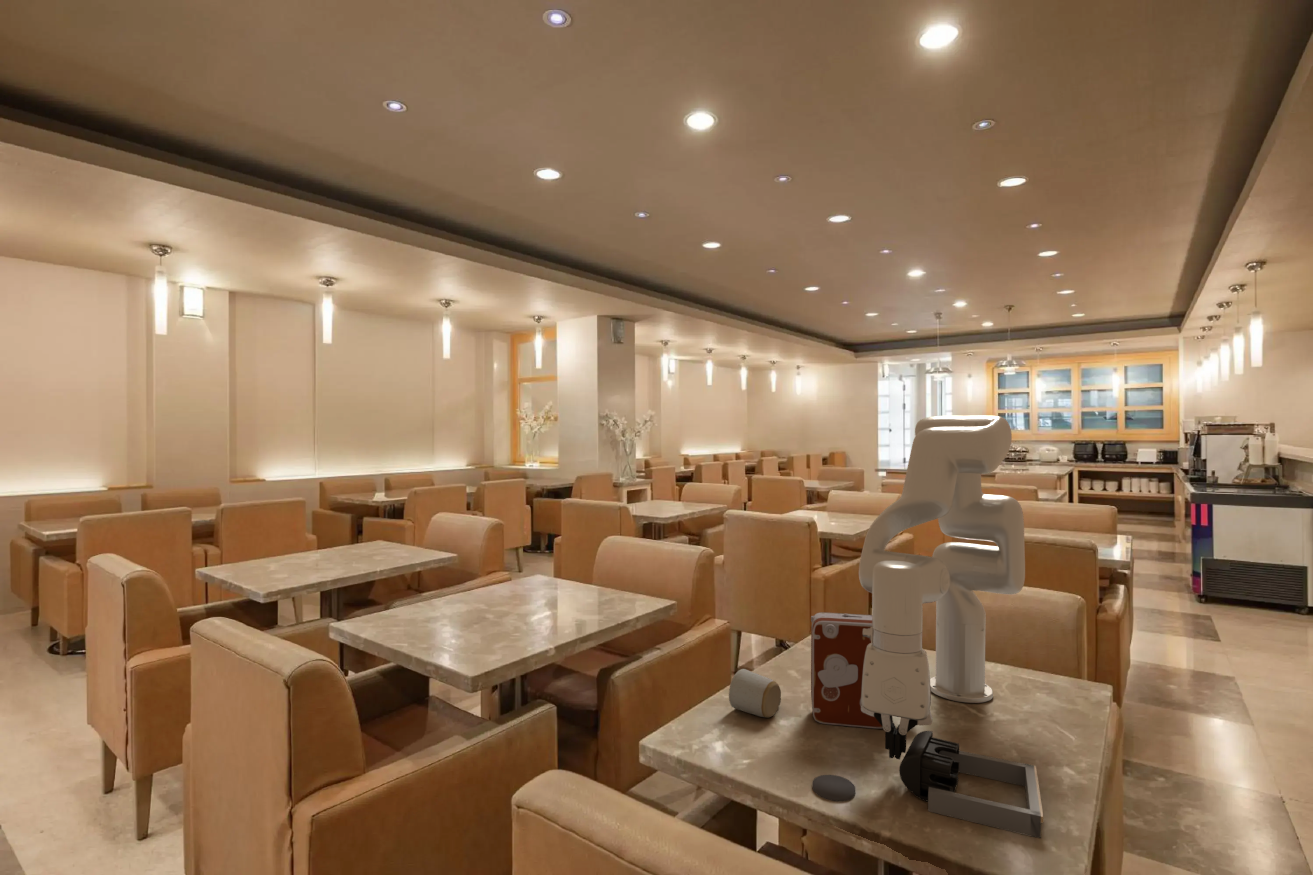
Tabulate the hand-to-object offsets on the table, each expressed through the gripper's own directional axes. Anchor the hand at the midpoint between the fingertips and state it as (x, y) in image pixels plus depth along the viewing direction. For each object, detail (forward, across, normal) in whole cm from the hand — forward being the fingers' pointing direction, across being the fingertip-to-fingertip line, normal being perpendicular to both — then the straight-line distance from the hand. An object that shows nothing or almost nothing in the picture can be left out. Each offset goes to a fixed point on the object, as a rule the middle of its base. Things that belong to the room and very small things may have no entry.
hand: (895, 754), depth 106 cm
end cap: (+4, +5, 0) cm, 6 cm away
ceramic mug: (+4, -28, +15) cm, 32 cm away
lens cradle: (+4, +12, 0) cm, 12 cm away
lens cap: (+4, -8, -8) cm, 12 cm away
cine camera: (+4, -8, +19) cm, 21 cm away
